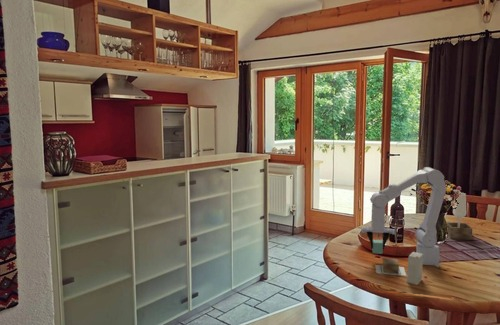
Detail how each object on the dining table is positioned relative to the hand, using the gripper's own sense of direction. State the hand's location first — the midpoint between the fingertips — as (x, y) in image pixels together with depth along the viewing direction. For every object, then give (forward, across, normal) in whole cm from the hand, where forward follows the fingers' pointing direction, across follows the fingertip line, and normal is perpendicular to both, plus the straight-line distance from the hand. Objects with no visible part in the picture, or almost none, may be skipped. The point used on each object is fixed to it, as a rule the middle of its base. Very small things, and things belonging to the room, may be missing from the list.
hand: (377, 248), depth 175 cm
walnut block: (+6, -5, +9) cm, 12 cm away
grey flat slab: (+7, -5, +9) cm, 12 cm away
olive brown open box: (+8, -46, -49) cm, 67 cm away
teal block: (+2, 0, 0) cm, 2 cm away
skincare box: (+7, -13, +18) cm, 24 cm away
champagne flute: (+8, -46, -49) cm, 68 cm away
